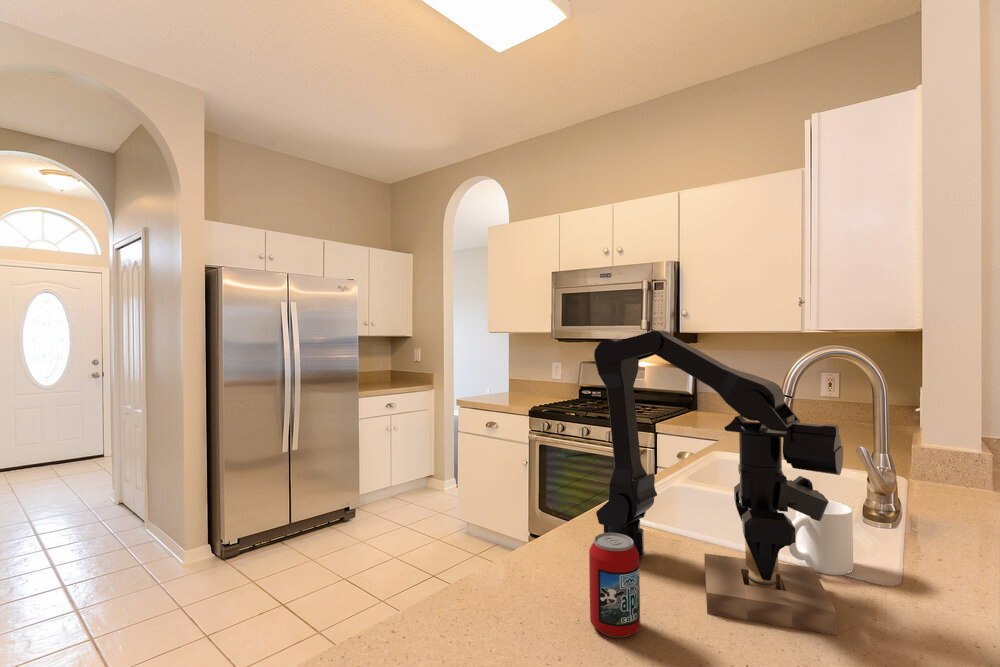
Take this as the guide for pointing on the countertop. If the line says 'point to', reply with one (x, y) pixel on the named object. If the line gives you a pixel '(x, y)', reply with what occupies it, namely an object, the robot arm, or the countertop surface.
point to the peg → (754, 573)
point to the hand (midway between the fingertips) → (761, 566)
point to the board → (769, 595)
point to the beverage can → (614, 585)
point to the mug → (825, 540)
